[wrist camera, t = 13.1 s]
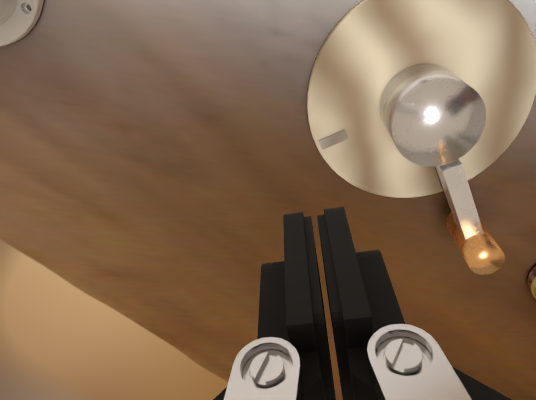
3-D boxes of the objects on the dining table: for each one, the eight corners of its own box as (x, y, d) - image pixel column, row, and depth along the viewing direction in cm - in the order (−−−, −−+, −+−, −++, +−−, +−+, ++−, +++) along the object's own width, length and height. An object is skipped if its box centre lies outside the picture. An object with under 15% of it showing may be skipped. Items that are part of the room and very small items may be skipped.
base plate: (352, 216, 46) (354, 225, 44) (271, 46, 37) (270, 50, 36) (546, 144, 40) (556, 151, 39) (505, -76, 32) (515, -77, 30)
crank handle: (368, 85, 36) (385, 114, 30) (448, 48, 35) (485, 70, 28) (427, 236, 44) (450, 285, 38) (495, 212, 42) (532, 260, 36)
